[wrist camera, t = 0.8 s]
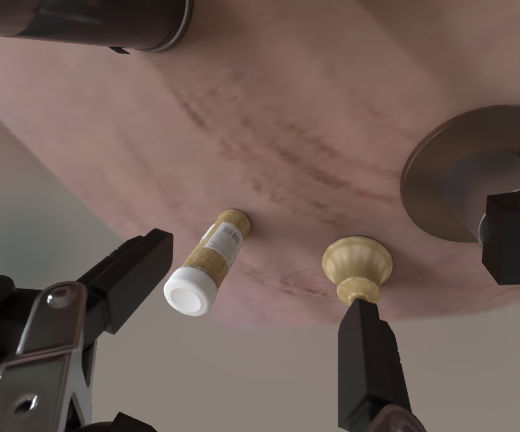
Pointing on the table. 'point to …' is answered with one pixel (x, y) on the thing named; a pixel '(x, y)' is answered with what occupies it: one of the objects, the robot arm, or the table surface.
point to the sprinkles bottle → (207, 265)
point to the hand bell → (357, 268)
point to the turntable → (446, 157)
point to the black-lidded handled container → (490, 208)
